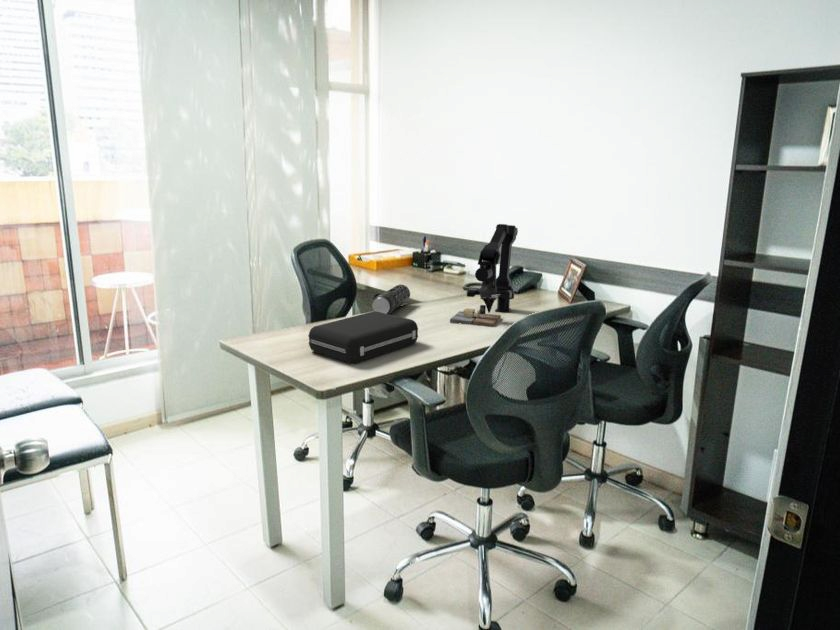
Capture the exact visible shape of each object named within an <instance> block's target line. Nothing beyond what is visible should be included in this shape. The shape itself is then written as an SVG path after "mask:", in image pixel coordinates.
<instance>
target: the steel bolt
mask: <svg viewBox="0 0 840 630" xmlns="http://www.w3.org/2000/svg"><path fill="white" fill-rule="evenodd" d="M479 309H480V313H479V317H481V318H485V314H486V309H487V307H486V304H480V305H479ZM473 317H477V311H475V312H473Z"/></svg>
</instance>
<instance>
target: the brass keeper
mask: <svg viewBox="0 0 840 630" xmlns="http://www.w3.org/2000/svg"><path fill="white" fill-rule="evenodd" d="M463 312H464V314H463V317H467V318H473V312H476V313H477V319H478V318H479V313H480V308H479V309H478V310H477V311H476V309H475V308H467V307H466V308H464V310H463Z"/></svg>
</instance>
